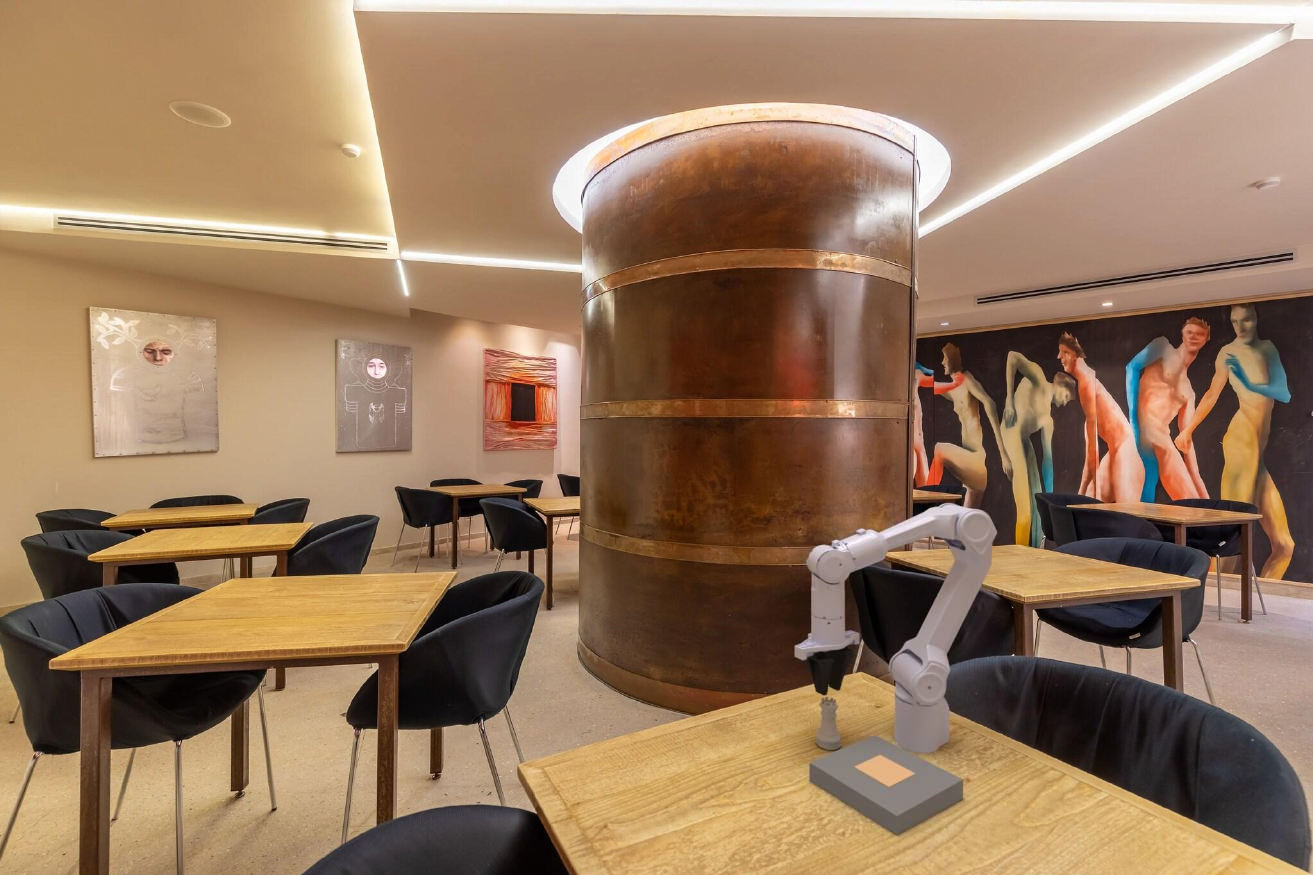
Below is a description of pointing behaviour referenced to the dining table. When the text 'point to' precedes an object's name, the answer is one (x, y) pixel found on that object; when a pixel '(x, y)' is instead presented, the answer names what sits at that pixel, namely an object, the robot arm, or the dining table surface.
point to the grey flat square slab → (886, 783)
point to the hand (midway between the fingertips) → (827, 690)
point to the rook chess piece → (828, 726)
